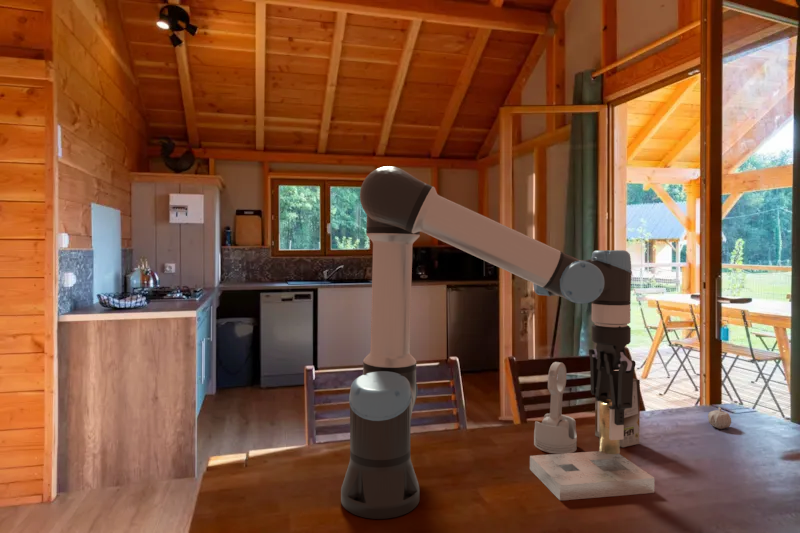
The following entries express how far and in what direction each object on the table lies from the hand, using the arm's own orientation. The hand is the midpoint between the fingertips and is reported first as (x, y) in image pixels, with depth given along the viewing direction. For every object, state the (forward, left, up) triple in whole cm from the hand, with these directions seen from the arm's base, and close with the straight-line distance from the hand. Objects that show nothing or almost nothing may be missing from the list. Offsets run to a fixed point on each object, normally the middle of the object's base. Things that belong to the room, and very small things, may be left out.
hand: (610, 434), depth 105 cm
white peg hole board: (-5, 0, -9) cm, 10 cm away
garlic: (+47, +24, -10) cm, 54 cm away
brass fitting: (0, 0, -3) cm, 3 cm away
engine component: (-3, +19, -10) cm, 22 cm away
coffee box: (+14, +20, -10) cm, 26 cm away
